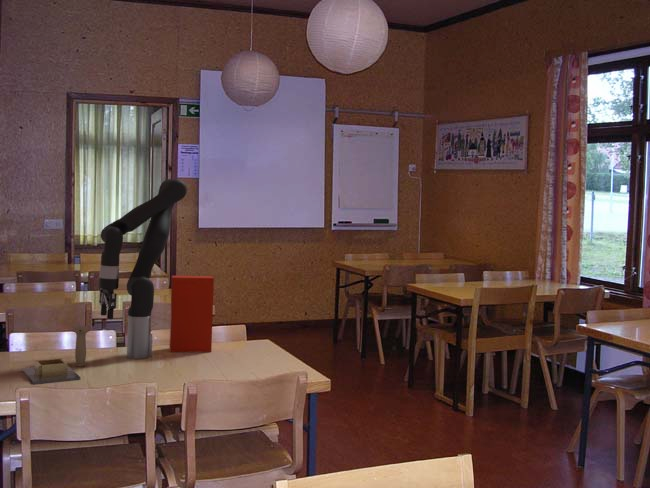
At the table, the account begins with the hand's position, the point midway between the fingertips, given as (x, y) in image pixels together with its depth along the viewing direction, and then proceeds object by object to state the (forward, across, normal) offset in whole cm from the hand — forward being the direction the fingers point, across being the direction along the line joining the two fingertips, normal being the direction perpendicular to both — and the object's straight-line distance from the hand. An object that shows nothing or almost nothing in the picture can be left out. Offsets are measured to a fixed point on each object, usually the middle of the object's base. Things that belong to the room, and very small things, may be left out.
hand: (106, 317), depth 292 cm
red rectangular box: (+16, +3, -38) cm, 42 cm away
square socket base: (+18, -15, +24) cm, 33 cm away
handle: (+18, -6, +11) cm, 22 cm away
